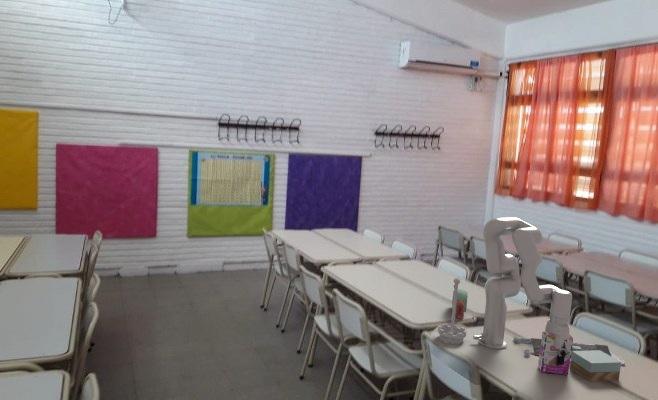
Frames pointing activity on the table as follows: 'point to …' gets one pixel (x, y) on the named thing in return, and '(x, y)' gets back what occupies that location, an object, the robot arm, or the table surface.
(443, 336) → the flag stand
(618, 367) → the tower top slab
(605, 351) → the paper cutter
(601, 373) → the tower base slab
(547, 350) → the candy bar box
